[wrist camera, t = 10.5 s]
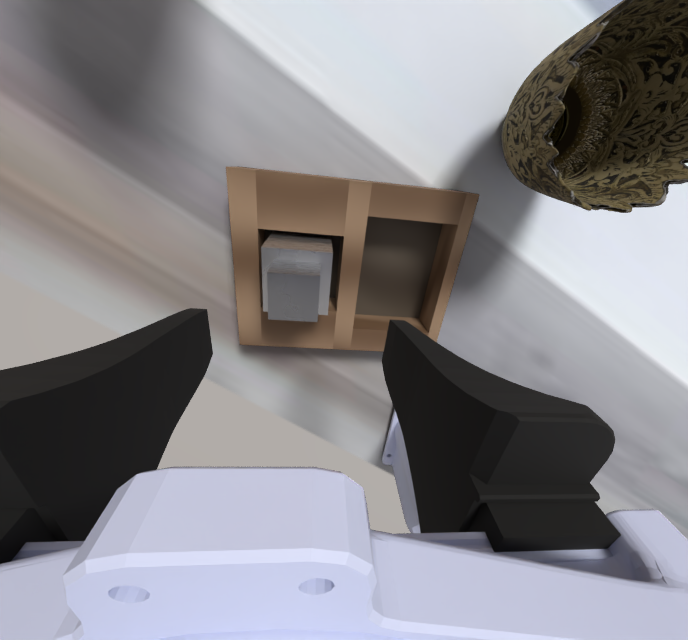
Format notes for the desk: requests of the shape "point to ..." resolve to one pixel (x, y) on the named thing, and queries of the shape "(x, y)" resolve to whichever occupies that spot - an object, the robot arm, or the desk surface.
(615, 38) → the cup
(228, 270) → the desk surface
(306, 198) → the socket board
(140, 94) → the desk surface
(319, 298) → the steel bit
